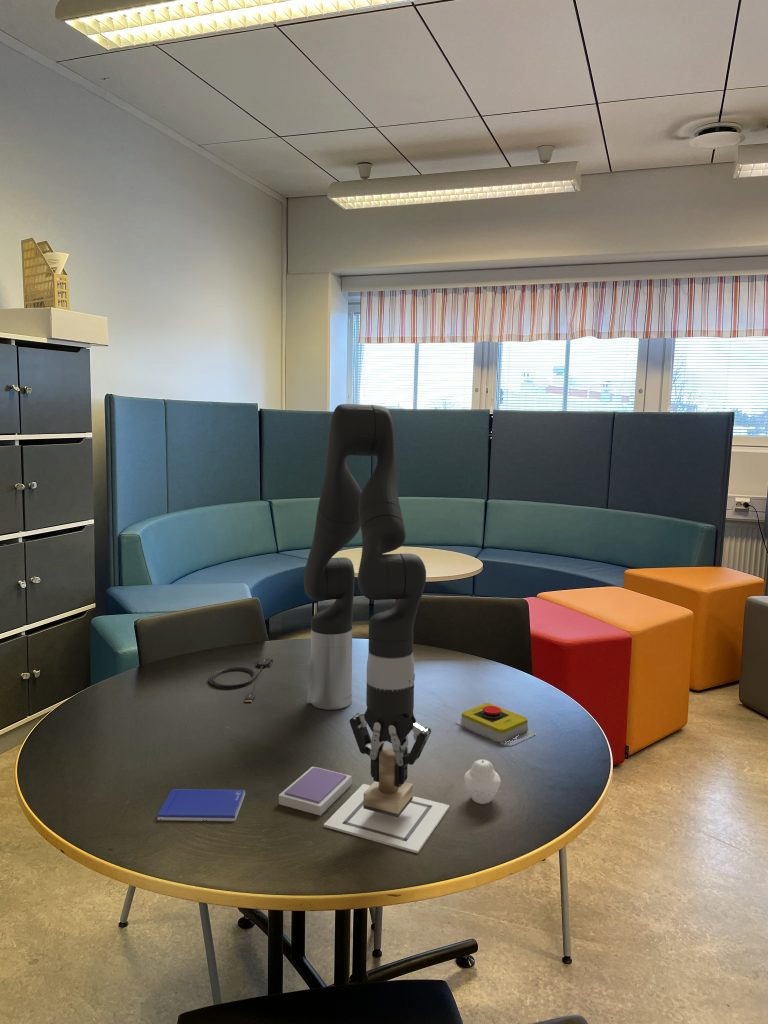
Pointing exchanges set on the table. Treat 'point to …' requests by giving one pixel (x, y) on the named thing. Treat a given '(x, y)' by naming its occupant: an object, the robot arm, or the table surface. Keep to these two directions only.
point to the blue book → (202, 805)
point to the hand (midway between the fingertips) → (389, 781)
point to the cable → (261, 664)
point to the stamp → (387, 789)
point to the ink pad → (315, 790)
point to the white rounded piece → (482, 781)
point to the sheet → (389, 822)
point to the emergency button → (495, 723)
